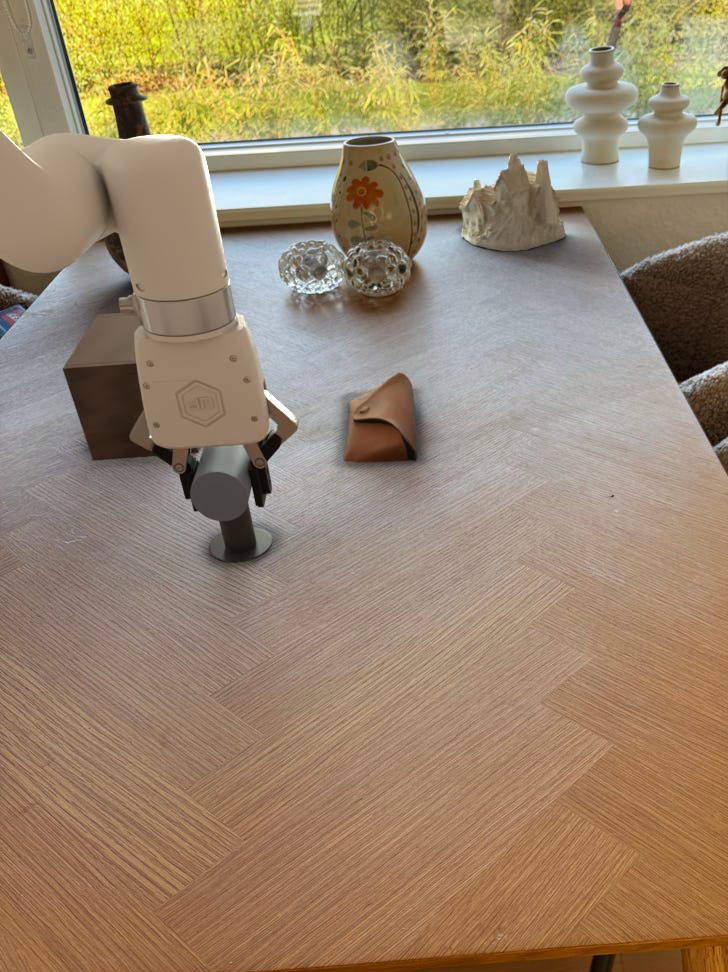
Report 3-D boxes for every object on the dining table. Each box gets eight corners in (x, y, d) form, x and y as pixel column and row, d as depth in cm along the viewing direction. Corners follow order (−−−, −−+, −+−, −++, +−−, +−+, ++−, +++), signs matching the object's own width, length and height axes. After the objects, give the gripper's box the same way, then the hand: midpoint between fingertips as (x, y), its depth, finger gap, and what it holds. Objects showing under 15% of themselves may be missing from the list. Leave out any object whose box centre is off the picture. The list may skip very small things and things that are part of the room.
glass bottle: (229, 286, 154) (188, 87, 136) (115, 301, 150) (58, 100, 133) (223, 253, 167) (185, 69, 149) (117, 266, 164) (66, 79, 146)
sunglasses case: (343, 400, 117) (366, 353, 114) (395, 422, 120) (419, 377, 116) (340, 471, 103) (365, 420, 100) (399, 496, 106) (426, 446, 103)
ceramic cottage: (577, 236, 165) (573, 140, 156) (498, 259, 159) (489, 161, 150) (527, 222, 176) (520, 131, 167) (451, 243, 170) (440, 151, 161)
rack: (92, 460, 109) (57, 355, 101) (122, 399, 122) (93, 301, 114) (198, 452, 110) (171, 347, 102) (217, 393, 122) (194, 295, 114)
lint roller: (205, 578, 89) (178, 474, 82) (217, 532, 96) (192, 432, 89) (270, 573, 90) (248, 469, 83) (277, 528, 96) (257, 427, 89)
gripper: (69, 332, 74) (130, 530, 86) (288, 318, 75) (320, 517, 86) (92, 298, 80) (146, 487, 92) (295, 286, 81) (324, 476, 92)
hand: (230, 500), depth 89 cm, fingers closed on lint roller, 5 cm apart
